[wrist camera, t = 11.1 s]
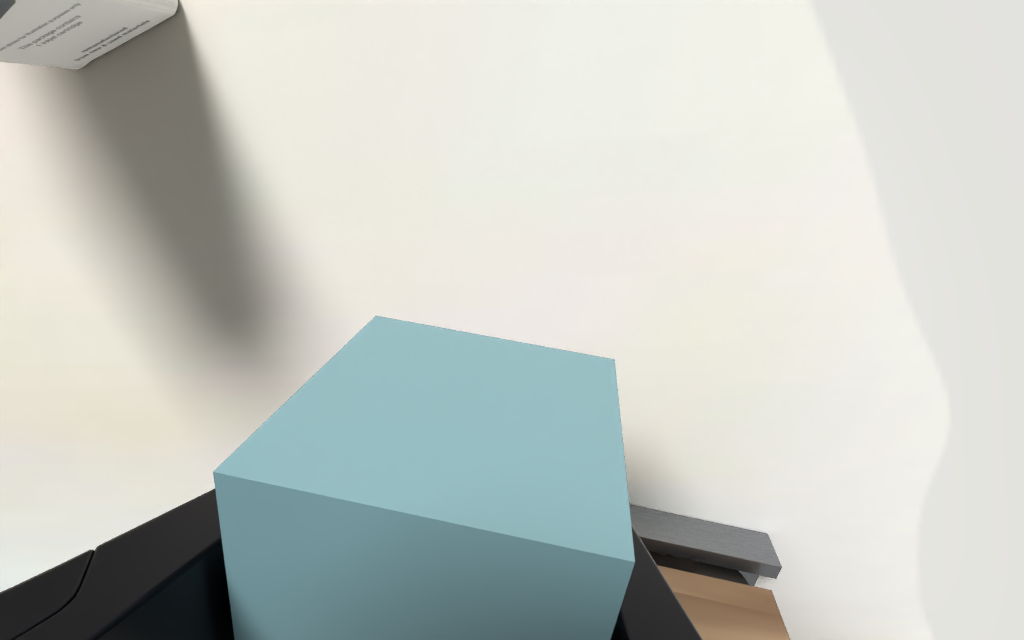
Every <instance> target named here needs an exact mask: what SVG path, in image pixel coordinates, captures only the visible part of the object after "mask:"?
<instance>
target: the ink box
mask: <svg viewBox="0 0 1024 640" xmlns="http://www.w3.org/2000/svg"><path fill="white" fill-rule="evenodd" d="M177 7H178V0H0V62H8V63H20V64H29V65H38V66H49V67H60V68H69V69H75V70H76V69H80V68H82V67H84V66H85V65H86V64H88V63H89V62H90V61H92V60H93V59H95V58H97V57H99V56H101V55H103V54H105V53H106V52H108V51H110V50H112V49H114V48H116V47H117V46H119V45H121V44H123V43H125V42H126V41H128V40H130V39H132V38H134V37H135V36H137V35H139V34H141V33H143V32H145V31H146V30H148V29H150V28H152V27H153V26H155V25H157V24H159V23H160V22H162V21H164V20H166V19H168V18H169V17H171V16H173V15H175V12H176V10H177Z"/></svg>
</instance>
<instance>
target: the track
mask: <svg viewBox="0 0 1024 640" xmlns="http://www.w3.org/2000/svg"><path fill="white" fill-rule="evenodd" d="M629 507H630V517H631V524H632V526H633V527H634V529H635V531H636V532H637V534H638V536H639V537H640V539H641V540H642V542H643V544H644V545H645V547H646V549H647V550H648V552H649V553H650V555H651V557H652V558H653V560H654V561H655V563H656V565H658V566H663V567H667V568H672V569H676V570H681V571H685V572H690V573H694V571H695V568H696V566H697V564H698V563H699V562H702V563H707V564H711V565H716V566H720V567H725V568H730V569H734V570H738V571H739V572H740V573H741V574H742V575H743V576H744V578H745V579H746V580H747V582H748V584H749V586H754V585H755V582H756V580H757V578H758V576H759V575H762V576H766V577H771V578H775V579H776V578H777V576H778V574H779V572H780V570H781V568H782V566H781V564H780V562H779V559H778V557H777V555H776V552H775V550H774V548H773V545H772V543H771V540H770V538H769V536H768V534H766V533H761V532H756V531H752V530H747V529H742V528H737V527H733V526H728V525H723V524H719V523H714V522H709V521H704V520H700V519H695V518H690V517H686V516H681V515H676V514H671V513H667V512H662V511H657V510H653V509H648V508H643V507H638V506H634V505H629Z"/></svg>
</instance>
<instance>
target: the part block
mask: <svg viewBox="0 0 1024 640" xmlns="http://www.w3.org/2000/svg"><path fill="white" fill-rule="evenodd" d="M213 475H214V482H215V490H216V498H217V506H218V514H219V521H220V529H221V537H222V545H223V553H224V561H225V568H226V576H227V584H228V592H229V600H230V608H231V615H232V623H233V631H234V639H235V640H610V639H611V636H612V633H613V630H614V627H615V624H616V620H617V617H618V614H619V611H620V608H621V605H622V602H623V598H624V595H625V592H626V589H627V586H628V583H629V580H630V576H631V573H632V570H633V567H634V564H635V556H634V547H633V537H632V527H631V517H630V507H629V497H628V487H627V478H626V468H625V458H624V448H623V438H622V428H621V418H620V409H619V399H618V389H617V379H616V369H615V359H609V358H604V357H598V356H593V355H587V354H582V353H576V352H571V351H565V350H560V349H555V348H549V347H544V346H538V345H533V344H527V343H522V342H516V341H511V340H505V339H500V338H495V337H489V336H484V335H478V334H473V333H467V332H462V331H456V330H451V329H445V328H440V327H435V326H429V325H424V324H418V323H413V322H407V321H402V320H396V319H391V318H385V317H380V316H375V317H374V318H373V319H372V320H371V321H370V322H369V323H368V324H367V325H366V326H365V327H364V328H363V329H362V330H361V331H360V332H359V333H358V334H357V335H355V336H354V337H353V338H352V339H351V340H350V341H349V342H348V343H347V344H346V345H345V346H344V347H343V348H342V349H341V350H340V351H339V352H338V353H337V354H336V355H335V356H334V357H333V358H331V359H330V360H329V361H328V362H327V363H326V364H325V365H324V366H323V367H322V368H321V369H320V370H319V371H318V372H317V373H316V374H315V375H314V376H313V377H312V378H311V379H310V380H309V381H307V382H306V383H305V384H304V385H303V386H302V387H301V388H300V389H299V390H298V391H297V392H296V393H295V394H294V395H293V396H292V397H291V398H290V399H289V400H288V401H287V402H286V403H285V404H283V405H282V406H281V407H280V408H279V409H278V410H277V411H276V412H275V413H274V414H273V415H272V416H271V417H270V418H269V419H268V420H267V421H266V422H265V423H264V424H263V425H262V426H261V427H259V428H258V429H257V430H256V431H255V432H254V433H253V434H252V435H251V436H250V437H249V438H248V439H247V440H246V441H245V442H244V443H243V444H242V445H241V446H240V447H239V448H238V449H237V450H235V451H234V452H233V453H232V454H231V455H230V456H229V457H228V458H227V459H226V460H225V461H224V462H223V463H222V464H221V465H220V466H219V467H218V468H217V469H216V470H215V471H214V472H213Z"/></svg>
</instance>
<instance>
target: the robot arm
mask: <svg viewBox="0 0 1024 640" xmlns="http://www.w3.org/2000/svg"><path fill="white" fill-rule="evenodd" d="M631 527H632V537H633V547H634V556H635V564H634V567H633V570H632V573H631V576H630V580H629V583H628V586H627V589H626V592H625V595H624V598H623V602H622V605H621V608H620V611H619V614H618V617H617V620H616V624H615V627H614V630H613V633H612V636H611V639H610V640H703V639H702V638H701V636H700V634H699V633H698V631H697V629H696V628H695V626H694V625H693V623H692V621H691V620H690V618H689V616H688V615H687V613H686V612H685V610H684V608H683V607H682V605H681V604H680V602H679V600H678V599H677V597H676V595H675V594H674V592H673V591H672V589H671V587H670V586H669V584H668V582H667V581H666V579H665V578H664V576H663V574H662V573H661V571H660V570H659V568H658V566H657V565H656V563H655V561H654V560H653V558H652V557H651V555H650V553H649V552H648V550H647V549H646V547H645V545H644V544H643V542H642V540H641V539H640V537H639V536H638V534H637V532H636V531H635V529H634V527H633V526H632V524H631ZM0 640H235V639H234V631H233V623H232V615H231V608H230V600H229V592H228V584H227V576H226V568H225V561H224V553H223V545H222V537H221V529H220V521H219V514H218V506H217V498H216V490H215V489H213V490H211V491H209V492H207V493H205V494H203V495H201V496H199V497H197V498H195V499H193V500H191V501H189V502H187V503H185V504H183V505H180V506H178V507H176V508H174V509H172V510H170V511H168V512H166V513H164V514H162V515H160V516H158V517H156V518H154V519H152V520H150V521H148V522H146V523H144V524H142V525H140V526H138V527H136V528H134V529H132V530H130V531H128V532H126V533H124V534H121V535H119V536H117V537H115V538H113V539H111V540H109V541H107V542H105V543H103V544H101V545H99V546H98V547H97V548H96V549H95V551H94V550H89V551H86V552H84V553H82V554H80V555H78V556H76V557H74V558H72V559H70V560H68V561H66V562H64V563H62V564H60V565H58V566H56V567H54V568H52V569H49V570H47V571H45V572H43V573H41V574H39V575H37V576H35V577H32V578H30V579H28V580H26V581H24V582H22V583H20V584H18V585H16V586H13V587H11V588H9V589H7V590H5V591H2V592H0Z"/></svg>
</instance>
